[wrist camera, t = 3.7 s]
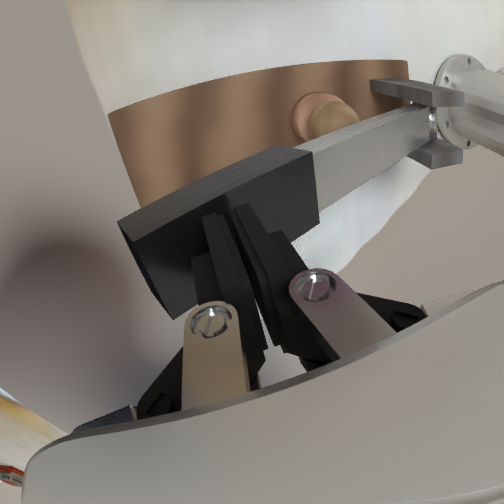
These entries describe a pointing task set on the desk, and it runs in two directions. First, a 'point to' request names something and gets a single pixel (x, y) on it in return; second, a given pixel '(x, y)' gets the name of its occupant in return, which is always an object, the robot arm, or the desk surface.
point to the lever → (267, 195)
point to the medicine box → (11, 475)
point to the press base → (264, 118)
